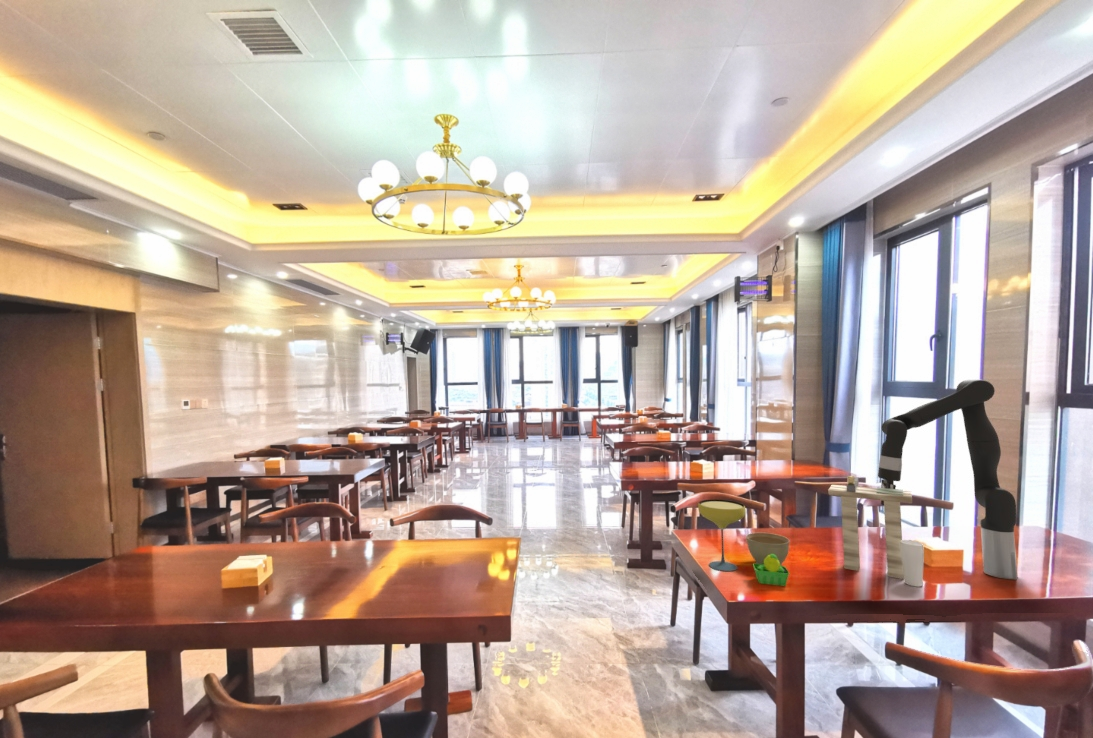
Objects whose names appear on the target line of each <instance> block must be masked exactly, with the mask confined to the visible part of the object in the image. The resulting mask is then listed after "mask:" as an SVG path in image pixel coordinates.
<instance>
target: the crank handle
mask: <svg viewBox="0 0 1093 738" xmlns="http://www.w3.org/2000/svg"><path fill="white" fill-rule="evenodd" d="M846 479H847V484H846V486H847V491H850V492H856V489H857V487H859V483H860V482H859V481H860V479H859V477H855V476H854V475H847V476H846Z"/></svg>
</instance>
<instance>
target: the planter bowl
mask: <svg viewBox="0 0 1093 738" xmlns="http://www.w3.org/2000/svg"><path fill="white" fill-rule="evenodd" d="M745 539H746V542H747V543H746V544H747V549H748V551H749V553H750V555H751V556H752V558H753V559H754V561H755V564H764V559H765V558H766V557H767V556H768V555H770V554H774V555H776V557H777V558H778V560H779V562H780V566H783V563H784V562H785V561H786V559H787V556H788V554H789V550H790V539H789V538H787V537H786V536H785V535H784V536H783V535H780V534H776V533H770V532H752V533H748V534H746V536H745Z"/></svg>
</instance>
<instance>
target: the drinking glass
mask: <svg viewBox="0 0 1093 738" xmlns="http://www.w3.org/2000/svg"><path fill="white" fill-rule="evenodd" d="M900 552H901V559H902V565H903V572H904V579H903V580H904V581H903V582H904V583H905V584H907V585H909V586H910V587H916V588H918V587H919V588H921V587H923V585H924V580H923V579H924V563H925V562H924V561H925V560H924V559H925V557H924V556H925V555H924V554H925V553H924V552H925V549H924V544H923V543H922V542H919V541H915V540H911V539H910V540H909V539H902V540H901V541H900Z"/></svg>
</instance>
